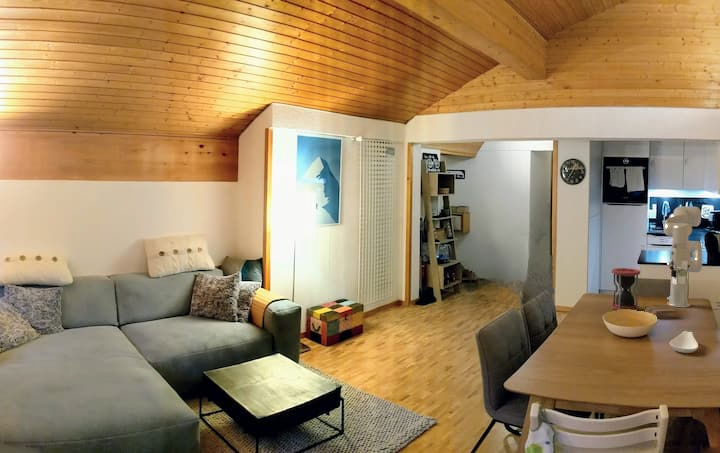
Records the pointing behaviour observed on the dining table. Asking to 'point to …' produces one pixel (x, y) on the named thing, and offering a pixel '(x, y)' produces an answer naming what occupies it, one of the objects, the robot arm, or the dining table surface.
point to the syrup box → (680, 274)
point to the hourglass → (625, 288)
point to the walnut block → (661, 312)
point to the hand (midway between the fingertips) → (679, 276)
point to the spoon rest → (684, 343)
